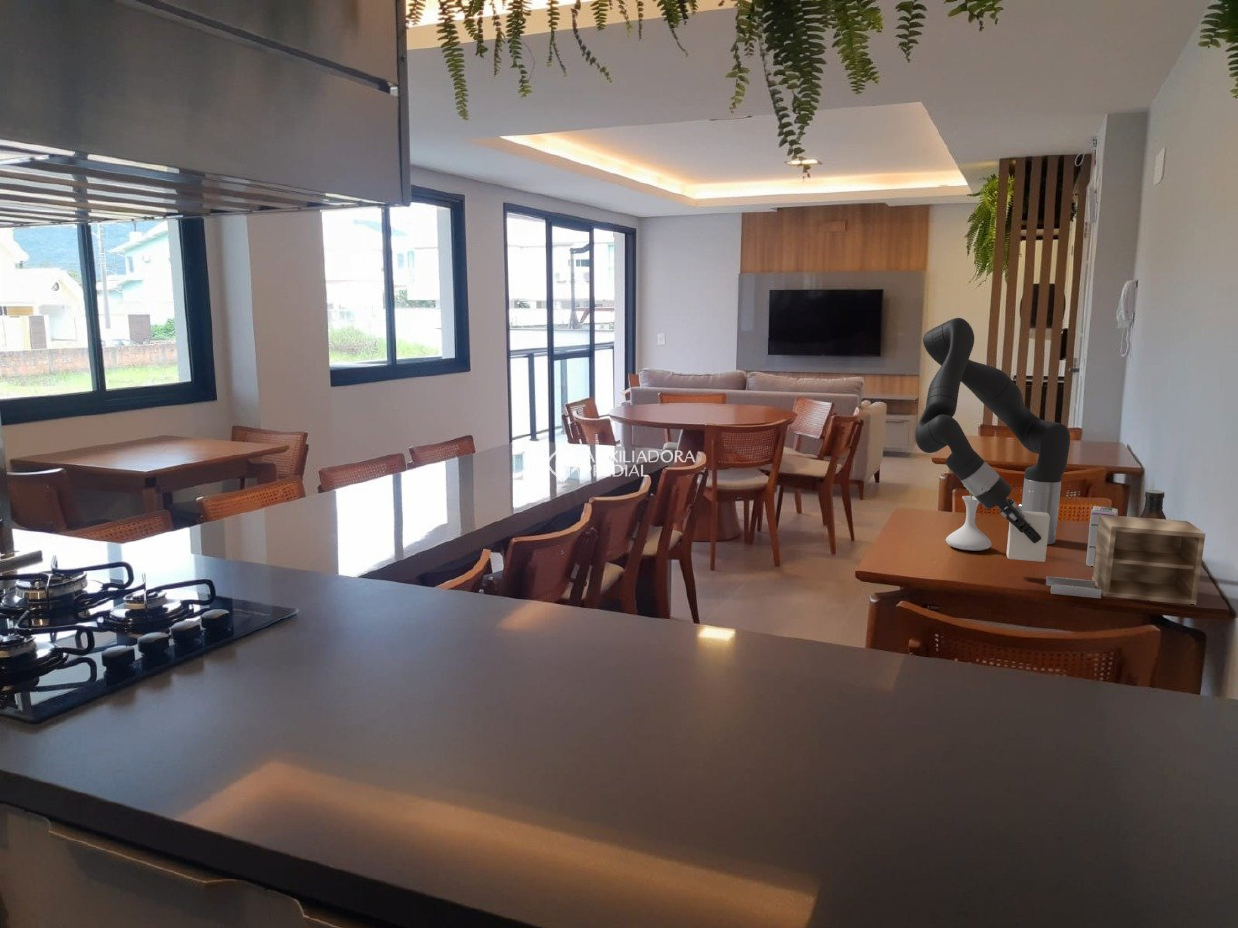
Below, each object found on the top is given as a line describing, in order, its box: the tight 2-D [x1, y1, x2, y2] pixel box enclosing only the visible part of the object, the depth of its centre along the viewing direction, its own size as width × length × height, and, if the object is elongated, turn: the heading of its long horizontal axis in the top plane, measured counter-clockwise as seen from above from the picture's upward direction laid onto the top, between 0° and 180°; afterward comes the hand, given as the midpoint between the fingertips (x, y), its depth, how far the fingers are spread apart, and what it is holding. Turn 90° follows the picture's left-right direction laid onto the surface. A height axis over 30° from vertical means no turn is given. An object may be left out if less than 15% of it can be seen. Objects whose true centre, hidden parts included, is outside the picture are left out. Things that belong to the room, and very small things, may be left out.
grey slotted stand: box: [1045, 575, 1102, 599], centre depth 199 cm, size 10×7×2 cm
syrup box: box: [1085, 505, 1119, 568], centre depth 219 cm, size 6×6×14 cm
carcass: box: [1091, 515, 1206, 606], centre depth 198 cm, size 18×12×16 cm, turn 73°
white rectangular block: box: [1006, 511, 1050, 563], centre depth 208 cm, size 8×4×11 cm, turn 73°
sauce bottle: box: [1139, 489, 1167, 520], centre depth 215 cm, size 7×6×20 cm
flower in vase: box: [945, 485, 993, 552], centre depth 233 cm, size 13×11×25 cm
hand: (1036, 538), depth 207 cm, fingers closed on white rectangular block, 3 cm apart
